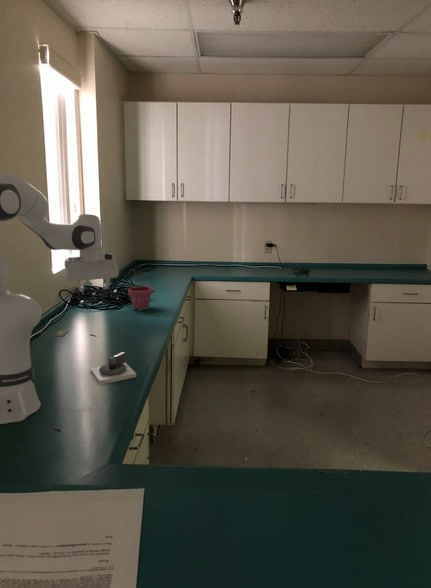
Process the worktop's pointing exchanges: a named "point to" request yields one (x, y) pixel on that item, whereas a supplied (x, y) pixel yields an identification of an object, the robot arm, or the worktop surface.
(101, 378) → the dial base
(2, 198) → the robot arm
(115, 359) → the dial
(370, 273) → the worktop surface
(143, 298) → the plant pot
